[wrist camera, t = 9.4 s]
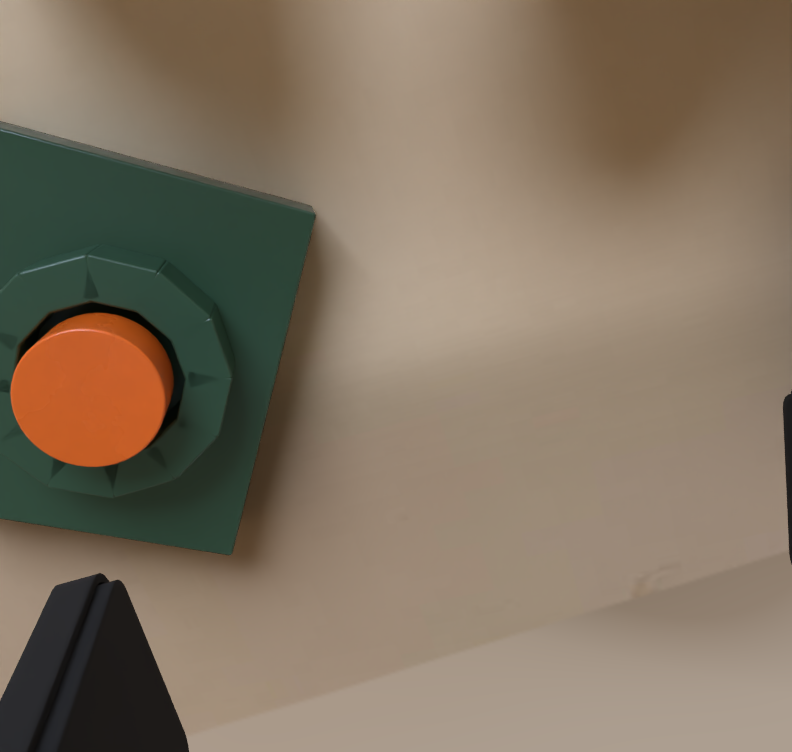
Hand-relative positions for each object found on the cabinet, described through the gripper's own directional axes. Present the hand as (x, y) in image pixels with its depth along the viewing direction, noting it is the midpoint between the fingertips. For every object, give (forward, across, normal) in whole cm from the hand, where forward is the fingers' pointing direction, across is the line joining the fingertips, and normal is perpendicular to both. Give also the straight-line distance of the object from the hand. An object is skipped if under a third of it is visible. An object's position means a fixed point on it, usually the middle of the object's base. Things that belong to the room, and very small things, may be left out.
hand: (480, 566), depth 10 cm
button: (+11, +7, -1) cm, 13 cm away
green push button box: (+15, +7, -1) cm, 17 cm away
